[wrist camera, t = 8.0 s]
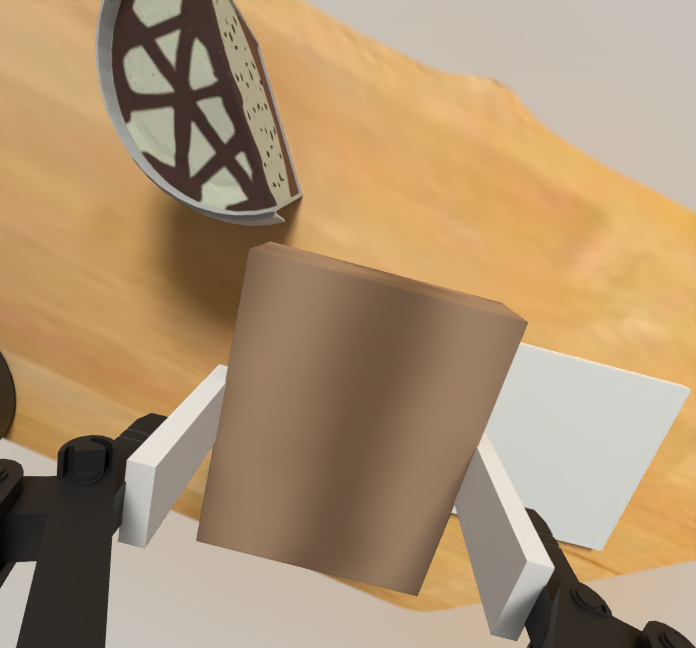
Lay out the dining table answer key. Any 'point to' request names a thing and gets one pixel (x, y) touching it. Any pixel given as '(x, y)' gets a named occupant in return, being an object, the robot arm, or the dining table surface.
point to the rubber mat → (578, 438)
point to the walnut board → (350, 415)
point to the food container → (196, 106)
